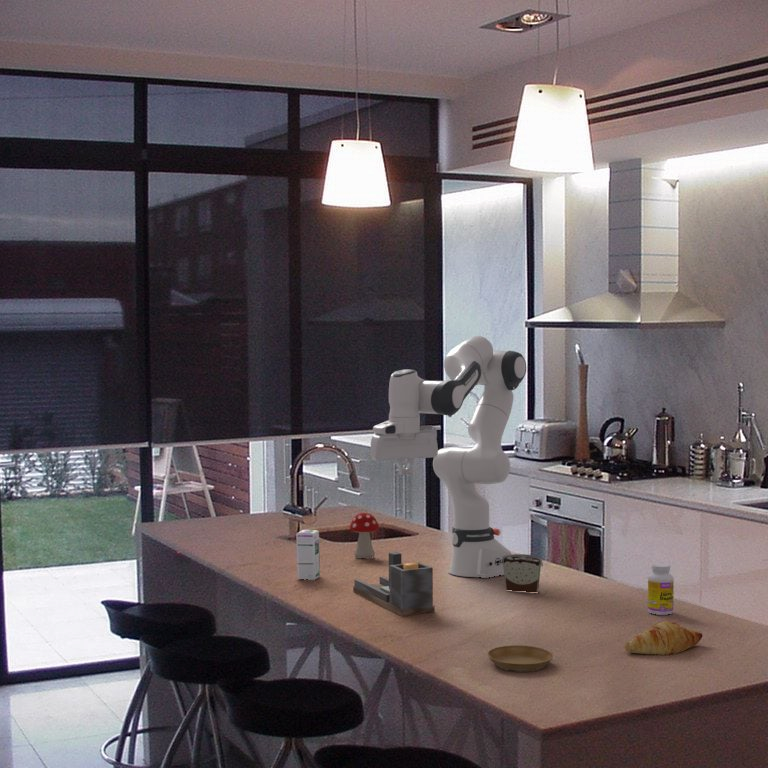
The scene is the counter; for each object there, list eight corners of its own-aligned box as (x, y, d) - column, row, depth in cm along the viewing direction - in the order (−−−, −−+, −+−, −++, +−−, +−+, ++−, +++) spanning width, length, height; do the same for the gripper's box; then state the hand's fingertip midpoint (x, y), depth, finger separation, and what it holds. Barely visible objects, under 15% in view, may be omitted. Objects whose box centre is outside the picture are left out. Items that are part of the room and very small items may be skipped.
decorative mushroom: (381, 555, 390) (381, 511, 390) (377, 560, 382) (376, 515, 381) (352, 554, 392) (352, 510, 391) (347, 559, 384) (346, 514, 383)
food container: (548, 589, 337) (548, 555, 337) (542, 594, 332) (542, 559, 331) (508, 586, 343) (507, 552, 342) (501, 590, 337) (500, 556, 336)
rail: (384, 588, 342) (384, 547, 341) (434, 611, 313) (434, 567, 312) (353, 591, 337) (352, 550, 337) (400, 615, 308) (400, 571, 308)
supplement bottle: (659, 617, 305) (659, 568, 304) (642, 611, 311) (642, 563, 310) (678, 614, 308) (679, 565, 307) (661, 608, 314) (662, 561, 313)
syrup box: (315, 580, 353) (314, 532, 352) (296, 579, 354) (296, 532, 353) (320, 576, 358) (319, 529, 358) (301, 575, 360) (301, 529, 359)
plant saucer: (548, 656, 271) (548, 644, 270) (557, 675, 256) (557, 663, 256) (485, 656, 271) (484, 645, 271) (490, 675, 256) (490, 663, 256)
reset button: (414, 584, 316) (414, 562, 316) (421, 587, 313) (420, 564, 312) (401, 585, 315) (401, 563, 314) (407, 588, 311) (407, 566, 311)
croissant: (632, 672, 268) (641, 646, 264) (610, 643, 276) (619, 617, 272) (707, 660, 276) (717, 634, 272) (684, 631, 284) (693, 606, 280)
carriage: (398, 592, 328) (397, 549, 327) (410, 598, 321) (410, 554, 320) (380, 594, 326) (379, 551, 325) (392, 600, 318) (391, 556, 318)
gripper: (431, 424, 340) (432, 471, 341) (367, 427, 332) (368, 475, 333) (441, 425, 335) (442, 473, 335) (376, 428, 326) (377, 478, 327)
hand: (404, 474), depth 334 cm, fingers closed
